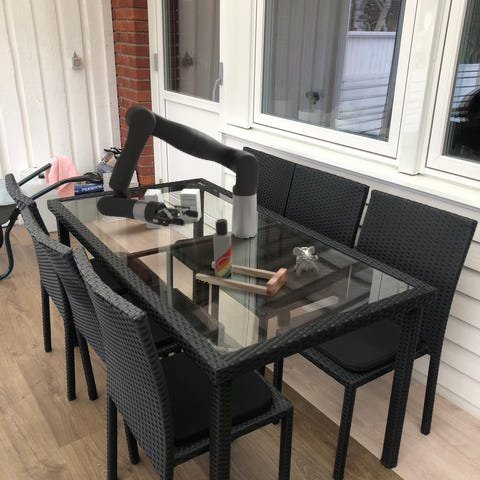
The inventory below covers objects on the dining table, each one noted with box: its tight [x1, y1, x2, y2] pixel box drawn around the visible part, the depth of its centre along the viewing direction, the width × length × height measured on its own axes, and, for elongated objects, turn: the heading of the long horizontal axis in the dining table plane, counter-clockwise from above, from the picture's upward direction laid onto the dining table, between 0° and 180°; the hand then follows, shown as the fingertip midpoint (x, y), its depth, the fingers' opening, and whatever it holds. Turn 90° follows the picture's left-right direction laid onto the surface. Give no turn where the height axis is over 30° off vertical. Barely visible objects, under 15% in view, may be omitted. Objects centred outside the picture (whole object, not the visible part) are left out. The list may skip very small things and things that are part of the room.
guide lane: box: [195, 260, 288, 297], centre depth 163 cm, size 12×27×4 cm, turn 64°
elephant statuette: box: [292, 246, 320, 276], centre depth 169 cm, size 9×12×8 cm
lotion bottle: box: [212, 218, 233, 280], centre depth 163 cm, size 6×6×20 cm
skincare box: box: [143, 188, 163, 229], centre depth 212 cm, size 8×6×15 cm
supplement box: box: [179, 188, 202, 223], centre depth 218 cm, size 7×7×13 cm
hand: (191, 218), depth 164 cm, fingers open, 8 cm apart
